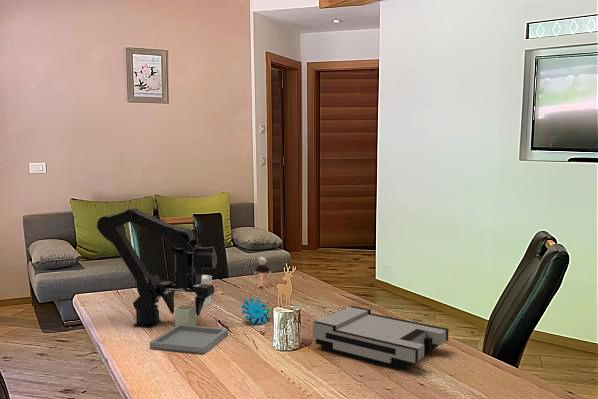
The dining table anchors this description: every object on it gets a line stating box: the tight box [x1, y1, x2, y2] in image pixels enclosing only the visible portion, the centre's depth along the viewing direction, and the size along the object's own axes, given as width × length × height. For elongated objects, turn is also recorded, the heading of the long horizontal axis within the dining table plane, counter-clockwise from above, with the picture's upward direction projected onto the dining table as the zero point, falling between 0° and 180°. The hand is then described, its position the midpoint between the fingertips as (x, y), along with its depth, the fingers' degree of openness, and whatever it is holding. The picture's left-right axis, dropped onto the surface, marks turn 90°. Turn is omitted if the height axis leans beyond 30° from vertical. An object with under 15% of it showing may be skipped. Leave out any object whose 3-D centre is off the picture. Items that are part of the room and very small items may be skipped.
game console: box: [312, 305, 449, 371], centre depth 165 cm, size 21×32×8 cm, turn 53°
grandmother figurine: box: [253, 256, 272, 289], centre depth 237 cm, size 8×4×13 cm, turn 80°
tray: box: [149, 324, 229, 356], centre depth 173 cm, size 17×17×2 cm
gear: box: [241, 297, 272, 326], centre depth 193 cm, size 11×6×10 cm
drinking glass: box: [194, 274, 213, 307], centre depth 214 cm, size 7×7×10 cm
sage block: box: [174, 304, 197, 327], centre depth 188 cm, size 5×5×6 cm
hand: (185, 314), depth 188 cm, fingers open, 9 cm apart
